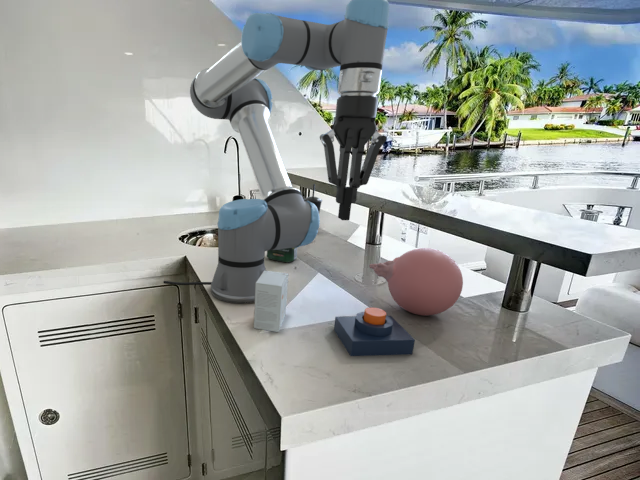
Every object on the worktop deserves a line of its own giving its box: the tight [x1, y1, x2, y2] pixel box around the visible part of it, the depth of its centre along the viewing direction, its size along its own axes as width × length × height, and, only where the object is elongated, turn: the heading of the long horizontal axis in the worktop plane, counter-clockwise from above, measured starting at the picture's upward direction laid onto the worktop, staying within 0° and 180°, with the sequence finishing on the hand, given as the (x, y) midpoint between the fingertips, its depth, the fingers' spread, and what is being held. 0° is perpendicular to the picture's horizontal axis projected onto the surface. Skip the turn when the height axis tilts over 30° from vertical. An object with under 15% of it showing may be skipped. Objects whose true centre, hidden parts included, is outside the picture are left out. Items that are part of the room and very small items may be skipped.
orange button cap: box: [363, 306, 387, 325], centre depth 74 cm, size 4×4×2 cm
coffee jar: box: [266, 247, 298, 263], centre depth 122 cm, size 10×8×19 cm
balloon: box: [368, 247, 464, 316], centre depth 88 cm, size 15×20×15 cm
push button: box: [333, 311, 416, 357], centre depth 75 cm, size 12×10×5 cm
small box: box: [253, 270, 289, 333], centre depth 81 cm, size 8×6×10 cm
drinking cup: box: [303, 183, 323, 213], centre depth 157 cm, size 8×8×20 cm
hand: (343, 218), depth 79 cm, fingers closed
